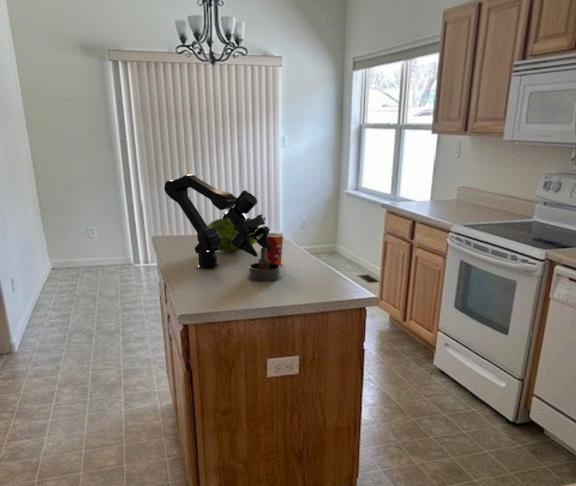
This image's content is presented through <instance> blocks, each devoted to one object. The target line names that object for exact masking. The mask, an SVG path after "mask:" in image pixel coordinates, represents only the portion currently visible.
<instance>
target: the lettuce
mask: <svg viewBox="0 0 576 486" xmlns="http://www.w3.org/2000/svg"><path fill="white" fill-rule="evenodd" d="M207 226H208V227H209V228H213V227H214V228H215V229H216V231H217V233H218V234H219V235H220V236H219V237H220V239H221V242H220V246H219V248H218V251H219V252H227V253H229V252H231V253H232V252H238V251H242V250H241V249H239V248H237V247H235V248H234V247H233V245H232V244H231V240H232V239H233V238H234V237H235V236H236V235H237V234H238V233H239V232H238V231H235V230H234V228H235V227H234V225H233V224H232V223H231V221H230V220H229V219H225V220H223V217H221V218H218V219H215V220H212V221H211V222H210V223H208V224H207ZM259 227H260V226H258V229H259ZM258 229H257V230H258ZM257 230H255V231H257ZM250 243H251V244H252V246H253V245H255V244H258V243H257V240H255V239H254V238H251V239H250Z"/></svg>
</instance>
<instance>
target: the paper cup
mask: <svg viewBox="0 0 576 486" xmlns="http://www.w3.org/2000/svg"><path fill="white" fill-rule="evenodd" d="M284 236H285V234H284V232H283V231H282V230H270V231H269V234H268V237H267V238H268V242H269V245H270V248H271V252H268V251H267V260H269V263H274V264H277V265H279V267H281V266H282V256H283V255H282V254H283V242H284Z"/></svg>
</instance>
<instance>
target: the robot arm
mask: <svg viewBox="0 0 576 486" xmlns="http://www.w3.org/2000/svg"><path fill="white" fill-rule="evenodd" d="M163 189H164V191H165V193H166V195H167V196H168V198H170V199H171V200H172V201H174V202H176V203H177V204H178V205H179V207H180V209H181V211H182V212H183V213H184V215H185V217H186V218H187V219H188V221H189V223H190V224H191V225H192V228H193V229H194V231H195V232H196V236H197V237H196V238H197V239H196V240H197V242H198V243H197V244H196V246H195V247H194V251H195V253H196V254H197V255H198V265H197V266H196V267H197V268H198V269H207V270H213V269H214V268H216V267H217V266H218V256H217V255H216V252H217V251H219V250H218V248H219V246H220V242H221V239H220V237H219V236H220V235H219V234H218V233H217V231H216V229H215V228H214V227H213V228H209V227H208V224H207V223H206V222H205V220H204V219H203V217H202V216H201V214H200V212H199V211H198V209H197V208H196V206H195V205H194V203H193V202H192V200H191V198H190V197H189V189H192V190H193V191H195V192H197V193H198V194H200V195H202V196H204V197H205V198H207V199H208V200H210V202H211V204H212V205H213V206H214V208H216V209H218V210H220V211H224V210H227V211H224V212H223V215H222V218H223V220H225V219H229V220H230V221H231V223H232V224H233V225H234V227H235V228H234V230H235V231H238V232H239V233H238V234H237V235H236V236H235V237H234V238H233V239H232V240H231V244H232V245H233V247H234V248H235V247H237V248H239V249H241V250H240V251H243V252H245V253H247V254H249V255H251V256H253V257H255V258H257V257H258V256H259V255H258V253H257V251H256V249H255V248H254V246H253V245H252V244H251V243H250V239H251V238H254V239H255V240H257V243H256V244H258V245H259V246H260V247H261V248H264V247H265V248H267V251H268V252H271V248H270V245H269V242H268V238H267V237H268V234H269V231H271V229H270V228H269V227H268V225H266V221H267V220H266V219H267V218H266V217H265V215H263V213H260V214H258V215H256V216H255V217H254V218H252V219H251V218H250V217H248V218H247V216H246V215H245V214H249V213H250V212H251V210H252V209H253V208H254V207H255V206H256V205H257V204H258V199H257V198H256V196H255V195H253V194H252V193H251V192H248V190H246V189H245V190H242V191H241V192H240V193H239V196H238V197H237V196H234V194H233V193H231V192H228V191H225V190H220V189H217V188H215V187H214V186H212V185H210V184H208V183H206V182H205V181H204V180H202V179H200V178H199V177H197V176H196V175H195V174H185V175H182V176H181V177H178V178H175V179H171V180H167V181H165V183H164V188H163ZM262 225H263V226H262ZM258 226H259V229H258ZM257 229H258V230H257ZM255 230H257V231H255Z"/></svg>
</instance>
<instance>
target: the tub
mask: <svg viewBox="0 0 576 486" xmlns="http://www.w3.org/2000/svg"><path fill="white" fill-rule="evenodd" d="M280 267H281V266H279V265H277V264H274V263H269V270H260V269H259V262H254V263H250V264H249V265H248V278H249V279H250V280H252V281H254V282H261V283H262V282H263V283H267V282H274V281H278V280H279V279H280V274H281V273H280Z"/></svg>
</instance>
